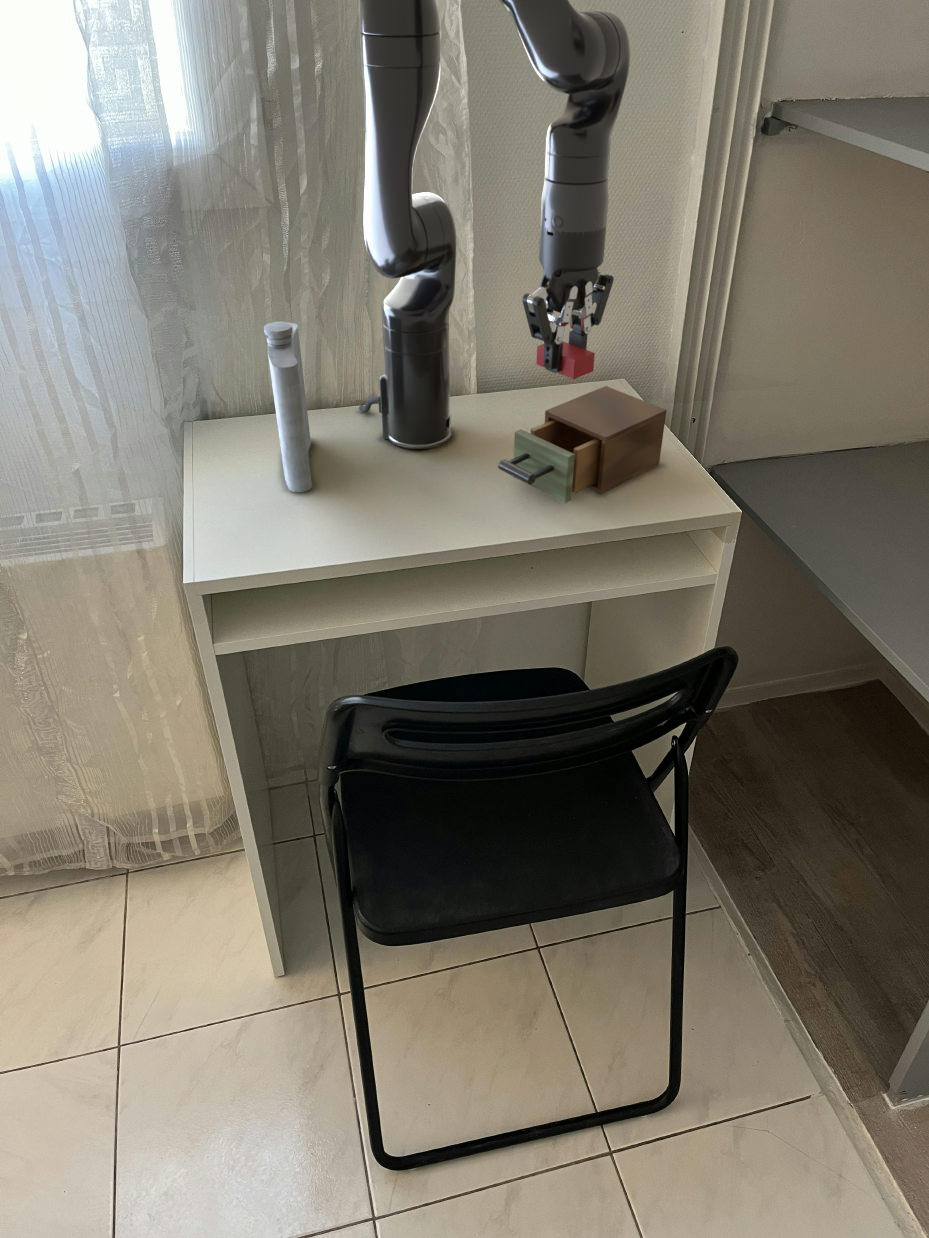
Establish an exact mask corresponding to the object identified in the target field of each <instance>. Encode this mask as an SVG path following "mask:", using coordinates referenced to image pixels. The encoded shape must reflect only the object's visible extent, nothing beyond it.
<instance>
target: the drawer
mask: <svg viewBox="0 0 929 1238" xmlns="http://www.w3.org/2000/svg"><path fill="white" fill-rule="evenodd" d="M601 444H602V440H600V439H598V438H595V437H593V436H591V435H589V434H586V433H584V432H582V431H580V430H577V429H575V428H573V427H571V426H568V425H566V424H564V423H562V422H559V421H557V420H555V419H553V420H551V421H549V422H546V423H545V422H544V423H541V424H539V425H537V426H535V427H532V428H530V432H528V431H526V430H524V429H521V428H520V429H518V430H515V431H514V441H513V458H511V459H509V460H506V459H501V460H500V461H499V463H498V469H499V470H500V471H502V472H504V473H505V474H507V475H510V476H512V477H513V478H515V479H516V480H518V481H521V482H522V483H524V484H526V485H528V486H530V487H532V488H534V489H536V490H538V491H539V492H542V493H544V494H545V495H548V496H550V497H552V498H553V499H555V500H558V501H560V502H561V503H564V504H567V503H568V502H570V501H572V495H573V494H577V493H580V492H581V491H583V490H585V489H588V488H587V487H589V486H591V485H593V484H595V483H597V482H598V476H599V465H600V455H601Z"/></svg>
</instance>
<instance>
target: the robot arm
mask: <svg viewBox="0 0 929 1238" xmlns="http://www.w3.org/2000/svg"><path fill="white" fill-rule="evenodd" d="M498 1H499V2H500V4H501V5H502V7H503V8H504V9H505V10H506V12H507V13H508V14H509V15H510V16H511V18H512V20H513V23H514V25H515V28H516V31H517V34H518V36H519V38H520V40H521V42H522V45H523V48H524V50H525V52H526V54H527V56H528V59H529V61H530V63H531V65H532V67H533V69H534V70H535V73H536V74H537V75H538V76H539V78H540V79H541V80H542V81H543V82H544V83H545V84H546V85H547V86H548V87H549V88H551V89H552V90H554V91H555V92H557V93H559V94H564V95H567V98H566V102H565V107H564V109H563V111H562V112H561V114H560V115H559V116H557V117H556V118H555V119H554V120H553V121H552V122H551V123H550V124H549V126H548V128H547V131H546V137H545V138H546V139H545V155H544V156H545V157H544V161H545V162H544V177H543V178H544V179H543V186H542V193H541V201H540V220H539V221H540V222H539V240H538V241H539V242H538V261H539V263H540V265H541V266H542V269H543V274H542V277H541V280H540V283H539V288H538V289H536V290H535V291H533V293H532V294H531V293H528V292H525V293H524V294H523V296H522V298H521V299H522V300H521V301H522V306H523V309H524V313H525V316H526V320H527V324H528V328H529V332H530V336H531V338H533V339H537V340H540V341H541V342H543V344H544V359H543V364H544V366H545V370H547V371H548V372H551V373H554V374H558V373H557V372H560V371H561V363H562V352H563V343H561V342H562V341H563V338H564V334H565V329H566V326H568V325H569V328H570V329H571V330H569V332H568V343H569V344H572V345H574V346H577V347H580V348H583V349H585V350H587V349H588V348H587V347H588V337H589V336H588V334H590V333H591V330H592V328H593V327H594V326H599V325H600V324H601V323H602V319H603V317H604V313H605V310H606V306H607V303H608V300H609V297H610V293H611V291H612V287H613V284H614V279H615V278H614V276H613V275H610V274H607V273H603V272H600V271H599V269H598V268H599V267H600V266H601V265H603V263H604V258H605V249H606V246H605V245H606V235H607V234H606V233H607V222H608V211H609V170H610V169H609V168H610V157H611V143H612V142H611V141H612V134H613V130H614V127H615V124H616V121H617V119H618V116H619V112H620V108H621V105H622V101H623V97H624V93H625V90H626V86H627V81H628V77H629V72H630V66H631V42H630V35H629V32H628V29H627V27H626V25H625V23H624V21H623V20H622V19H621V18H620V16H618V15H617V14H616V13H615V12H613V11H610V10H607V9H595V10H588V11H578V10H577V9H575V7H574V6H573V5H572V3H571V2H570V0H498ZM439 12H440V11H439V7H438V4H437V1H436V0H358V13H359V15H358V16H359V17H358V18H359V43H360V44H359V45H360V46H359V47H360V62H361V76H362V85H363V87H362V88H363V104H364V135H365V167H364V169H365V170H364V176H365V177H364V194H363V195H364V196H363V197H364V198H363V237H364V243H365V248H366V253H367V256H368V258H369V260H370V263H371V265H372V266H373V268H374V269H375V271H376V272H377V273H378V274H380V275H381V276H382V277H384V278H386V279H390V280H395V279H399V280H398V281H397V284H396V285H395V287H394V288H393V289H392V290H391V291H390V292H389V293H388V294H387V295H386V297H385V298H384V299H383V301H382V303H381V311H380V312H381V327H382V328H381V329H382V345H383V346H382V347H383V364H384V372H383V373H382V374H381V375H380V376H379V396H372V397H370V398H368V399H367V401H366V402H365V404H360V405H359V407H358V409H359V411H361V412H363V413H367V412H369V411H370V409H372V408H371V407H372V405H374V404H376V403H377V404H378V413H379V414H381V429H382V439H385V440H387V441H390V443H392V444H393V445H396V446H398V447H401V448H404V449H410V450H426V449H433V448H436V447H439V446H441V445H443V444H445V443H447V442H448V441H449V440H450V439H451V436H452V428H451V424H452V416H451V385H450V383H451V381H450V375H451V373H450V371H451V370H450V310H451V307H452V305H453V302H454V298H455V291H456V268H457V267H456V266H457V231H456V225H455V221H454V217H453V214H452V211H451V209H450V207H449V206H448V203H446V201H445V200H444V199H442V197H440V195H437V194H436V193H432V192H429V191H427V192H426V191H425V192H419V193H413V173H414V172H413V170H414V163H415V156H416V152H417V148H418V145H419V143H420V140H421V137H422V134H423V132H424V129H425V127H426V124H427V121H428V119H429V116H430V113H431V110H432V108H433V106H434V102H435V99H436V96H437V92H438V90H439V84H440V77H441V24H440V13H439ZM594 303H595V304H596V306H595V309H594V307H593V306H594ZM555 312H556V313H555ZM557 313H560V315H559V314H557ZM554 324H555V327H554V331H553V326H554Z"/></svg>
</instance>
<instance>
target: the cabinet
mask: <svg viewBox="0 0 929 1238" xmlns="http://www.w3.org/2000/svg"><path fill="white" fill-rule="evenodd" d="M666 417H667V409H666V408H664V407H660V406H659V405H656V404H654V403H651V402H648V401H645V400H642V399H640V398H638V397H635V396H633V395H630V394H627V393H625V392H624V391H623V392H622V391H619V390H617V389H615V388H612V387H610V386H607V385H604V386H602V387H599V388H597V389H595V390H592V391H590V392H587V393H585V394H582V395H580V396H577V397H575V398H573V399H570V400H568V401H565V402H562V403H561V404H558V405H555V406H553V407H551V408H548V409H546V410H545V411H544V423H546V422H549V421H551V420H553V419H555V420H557V421H559V422H562V423H564V424H566V425H568V426H571V427H573V428H575V429H577V430H580V431H582V432H584V433H586V434H589V435H591V436H593V437H595V438H598V439H600V440H602V444H601V455H600V465H599V476H598V482H597V483H595V484H593V485H591V486H589V487H587V488H586V489H588V490H590V491H592V492H595V493H597V494H599V495H603V494H605V493H607V492H608V491H610V490H613V489H614V488H616V487H618V486H620V485H623V484H624V483H626V482H629V481H630V480H633V479H634V478H636V477H639V476H641V475H643V474H644V473H647V472H648V471H651V470H652V469H654V468H656V467H658V466H660V459H661V453H662V445H663V439H664V432H665V424H666Z"/></svg>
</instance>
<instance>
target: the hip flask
mask: <svg viewBox="0 0 929 1238" xmlns="http://www.w3.org/2000/svg"><path fill="white" fill-rule="evenodd" d="M263 332H264V335H265V336H266V342H267V357H268V364H269V371H270V379H271V385H272V386H271V387H272V394H273V401H274V408H275V409H274V410H275V416H276V423H277V430H278V437H279V445H280V453H281V462H282V469H283V475H284V480H285V483H286V486H287V489H288V490H289V491H290V492H293V493H305V492H308V491H310V490H311V488H312V487H313V484H312V483H313V482H312V475H311V467H310V466H311V465H310V458H309V451H310V448H311V446H312V441H311V432H310V421H309V413H308V404H307V396H306V388H305V379H304V378H305V376H304V370H303V369H304V368H303V361H302V359H303V358H302V351H301V342H300V334H299V326H298V324H297V323H293V322H288V321H273V322H269V323H266V324H265V325H264V326H263Z"/></svg>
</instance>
